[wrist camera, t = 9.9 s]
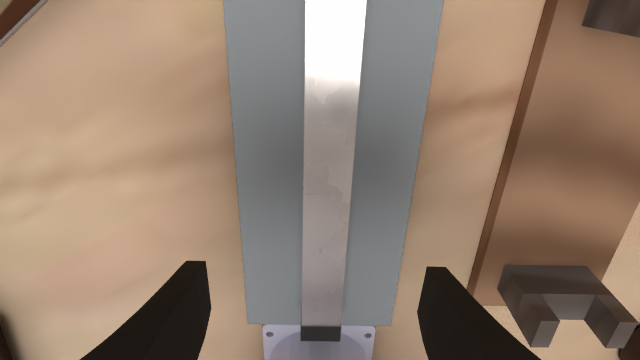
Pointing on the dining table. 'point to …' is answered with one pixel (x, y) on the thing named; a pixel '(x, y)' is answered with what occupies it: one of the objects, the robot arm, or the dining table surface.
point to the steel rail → (328, 158)
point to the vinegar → (632, 347)
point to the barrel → (4, 348)
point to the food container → (16, 15)
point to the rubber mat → (288, 150)
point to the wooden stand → (567, 175)
